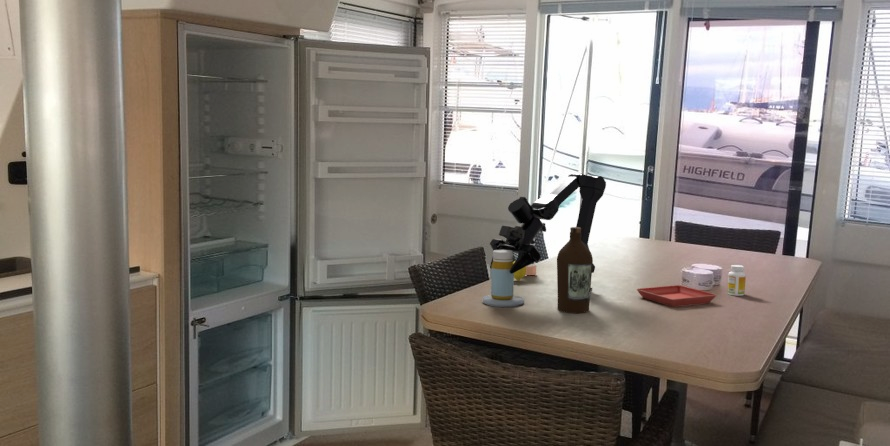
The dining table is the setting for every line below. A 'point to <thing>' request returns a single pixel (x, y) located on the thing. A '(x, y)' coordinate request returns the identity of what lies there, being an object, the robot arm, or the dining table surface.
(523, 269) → the lemon
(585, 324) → the dining table surface
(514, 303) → the stand
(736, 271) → the supplement bottle
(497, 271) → the bottle
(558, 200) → the robot arm
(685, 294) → the plant saucer
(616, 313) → the dining table surface
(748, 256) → the dining table surface
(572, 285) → the olive oil
